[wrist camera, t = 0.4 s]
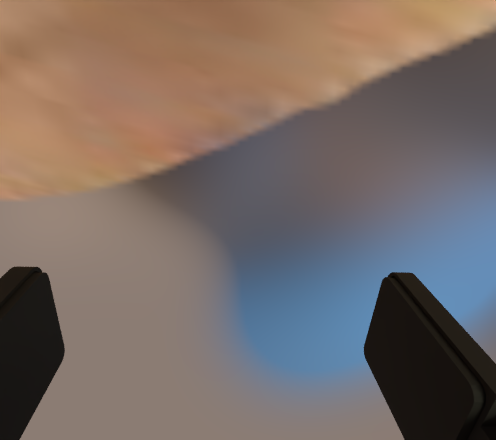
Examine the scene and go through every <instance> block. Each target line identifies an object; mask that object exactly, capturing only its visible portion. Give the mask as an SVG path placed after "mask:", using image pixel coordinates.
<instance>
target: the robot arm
mask: <svg viewBox="0 0 496 440" xmlns="http://www.w3.org/2000/svg"><path fill="white" fill-rule="evenodd" d="M64 351H65V350H64V343H63V339H62V334H61V330H60V325H59V321H58V316H57V312H56V308H55V303H54V299H53V294H52V290H51V285H50V281H49V277H48V275H47V273H42V271H41V269H40V268H38V267H13V268H11V269H10V270H9V271H8V272H7V273H6V274H4V275H3V276H2V277H1V278H0V440H19V439H20V438H21V435H22V434H23V432H24V430H25V428H26V426H27V425H28V423H29V421H30V419H31V417H32V415H33V414H34V412H35V410H36V408H37V406H38V404H39V403H40V401H41V399H42V397H43V395H44V394H45V392H46V390H47V388H48V386H49V384H50V383H51V381H52V379H53V377H54V375H55V373H56V371H57V370H58V368H59V366H60V364H61V362H62V360H63V357H64ZM364 355H365V358H366V361H367V363H368V365H369V367H370V369H371V371H372V373H373V375H374V377H375V379H376V381H377V383H378V385H379V387H380V390H381V392H382V394H383V396H384V398H385V400H386V402H387V404H388V406H389V408H390V410H391V412H392V414H393V416H394V418H395V421H396V422H397V425H398V427H399V429H400V431H401V433H402V435H403V437H404V439H405V440H496V364H495V363H494V362H493V360H492V359H491V358H490V357H489V356H488V355H487V354H486V353H485V352H484V350H483V349H482V348H481V347H480V346H479V345H478V344H477V343H476V342H475V341H474V340H473V338H471V336H470V335H469V334H468V333H467V332H466V331H465V330H464V329H463V327H462V326H461V325H459V323H458V322H457V321H456V320H455V319H454V318H453V317H452V315H451V314H450V313H449V312H448V311H447V310H446V309H445V308H444V307H443V305H442V304H441V303H440V302H439V301H438V300H437V299H436V298H435V297H434V296H433V294H432V293H431V292H430V291H429V290H428V289H427V288H426V287H425V286H424V285H423V284H422V282H421V281H420V280H419V279H418V278H417V277H416V276H415V275H414V274H413V273H397V272H396V273H395V272H392V273H390V274H389V275H388V277H385V278H384V279H383V280H382V283H381V287H380V291H379V294H378V298H377V301H376V305H375V309H374V312H373V316H372V319H371V323H370V327H369V331H368V334H367V338H366V341H365V345H364Z"/></svg>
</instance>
